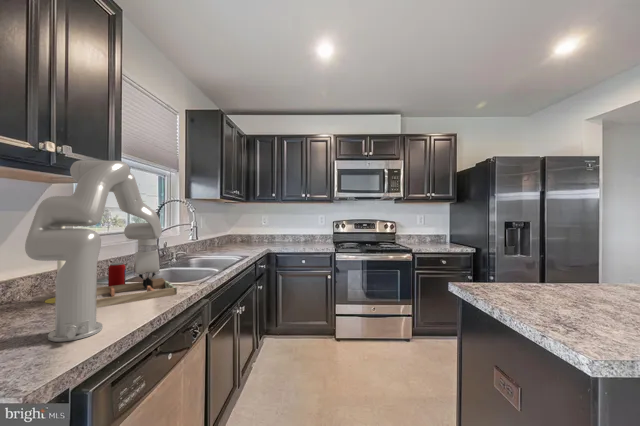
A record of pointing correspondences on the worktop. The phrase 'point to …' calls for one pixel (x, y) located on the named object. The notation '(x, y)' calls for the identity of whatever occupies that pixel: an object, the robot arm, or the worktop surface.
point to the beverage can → (116, 274)
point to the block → (157, 283)
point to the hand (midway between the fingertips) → (146, 287)
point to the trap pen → (132, 297)
